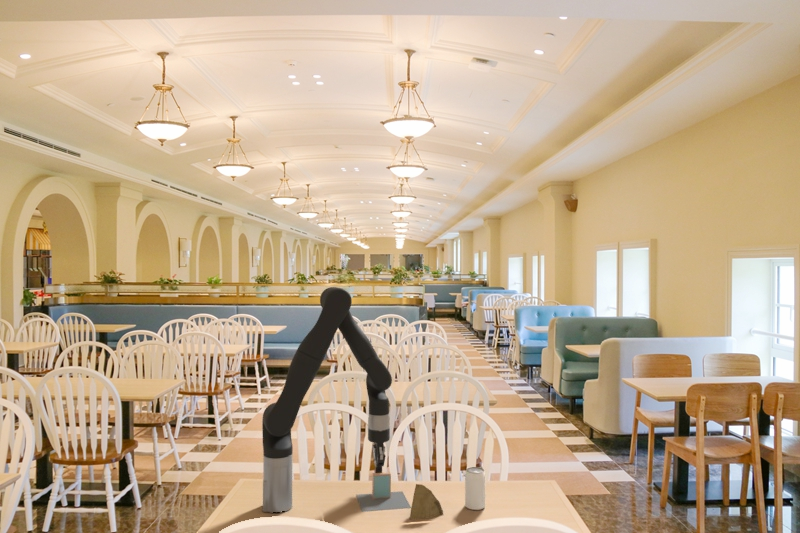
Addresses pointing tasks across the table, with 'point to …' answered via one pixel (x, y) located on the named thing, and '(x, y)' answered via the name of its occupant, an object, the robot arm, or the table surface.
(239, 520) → the table surface
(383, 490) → the tile
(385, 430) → the robot arm
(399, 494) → the mat
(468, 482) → the can
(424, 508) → the rock
